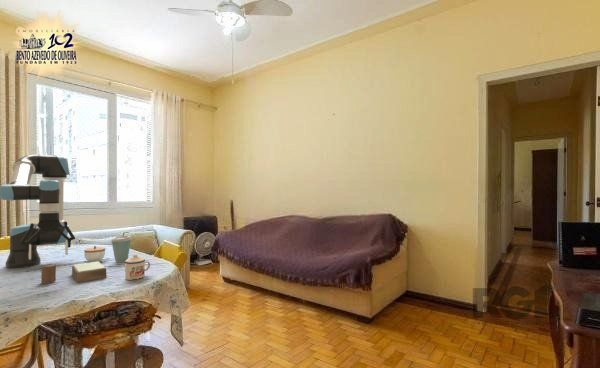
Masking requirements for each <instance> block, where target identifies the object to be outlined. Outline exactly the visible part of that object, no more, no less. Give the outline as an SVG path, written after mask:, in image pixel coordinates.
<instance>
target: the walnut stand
mask: <svg viewBox="0 0 600 368" xmlns="http://www.w3.org/2000/svg"><path fill="white" fill-rule="evenodd" d="M71 275H72V277H73V278H74V280H75V281H76V283H83V282H88V281H92V280H93V281H94V280H99V279H104V278H107V268H106V266H104V265H103V264H102V263H101V261H100V262H98V261H97V262H90V263H89V262H85V263H78V264H76V263H75V264H73V265H72V266H71Z"/></svg>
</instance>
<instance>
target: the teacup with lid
mask: <svg viewBox="0 0 600 368" xmlns="http://www.w3.org/2000/svg"><path fill="white" fill-rule="evenodd" d="M124 263H125V264H124V266H125V269H124V272H125V274H124V275H125V280H127V281H133V280H132V279H137V280H140V279H139V278H141V279H143V278H144V277H145V274H146V273H145V272H148V270H149V269H150V268H151V262H150V261H147V260H146V258H144V257H141V256H138V254H133V255H132V256H131V257H128V259H127V260H126V261H125V262H124ZM145 264H148V266H147V267H145ZM145 268H146V269H145ZM142 277H143V278H142Z"/></svg>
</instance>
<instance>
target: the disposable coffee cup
mask: <svg viewBox="0 0 600 368" xmlns="http://www.w3.org/2000/svg"><path fill="white" fill-rule="evenodd" d="M131 241H132V238H131V236H130V235H122V236H120V235H119V236H115V237H113V238H112V239H111V241H110V242H111V245H112V249H113V256H114V261H115V262H116V263H125V261H126V260H127V259H129V255H130V254H129V253H130V248H131Z"/></svg>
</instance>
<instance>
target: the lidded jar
mask: <svg viewBox="0 0 600 368" xmlns="http://www.w3.org/2000/svg"><path fill="white" fill-rule="evenodd" d="M83 251H84V259H85V261H87V263H90V262H97V261H98V262H100V263H101V261H102V260H103V259H104V257H105V254H106V247H104V246H102V247H101V246H99V247H98V246H96V245H94V246H93V247H89V248H85V249H84V250H83Z"/></svg>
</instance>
